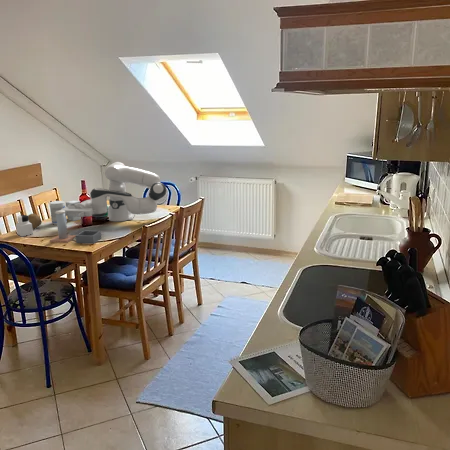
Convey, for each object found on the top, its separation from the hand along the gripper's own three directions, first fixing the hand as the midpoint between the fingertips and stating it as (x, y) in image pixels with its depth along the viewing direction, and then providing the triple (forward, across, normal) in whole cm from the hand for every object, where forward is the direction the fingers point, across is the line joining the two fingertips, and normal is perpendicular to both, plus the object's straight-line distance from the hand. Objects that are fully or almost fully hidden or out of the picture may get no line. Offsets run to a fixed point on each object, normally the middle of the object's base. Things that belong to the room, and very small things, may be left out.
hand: (71, 215), depth 268 cm
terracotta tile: (+12, 0, -12) cm, 17 cm away
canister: (+12, 0, -11) cm, 16 cm away
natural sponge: (-8, +31, -12) cm, 34 cm away
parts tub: (+12, -16, -12) cm, 23 cm away
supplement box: (-34, +16, -12) cm, 40 cm away
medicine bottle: (+5, +29, -12) cm, 32 cm away
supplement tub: (-22, +21, -12) cm, 33 cm away
